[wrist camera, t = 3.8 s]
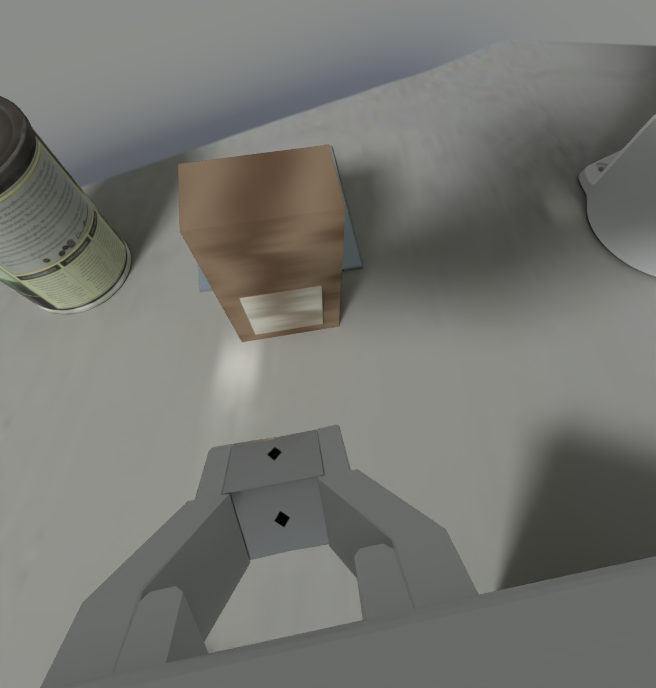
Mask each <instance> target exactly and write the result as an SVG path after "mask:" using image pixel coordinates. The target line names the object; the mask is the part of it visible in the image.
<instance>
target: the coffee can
mask: <svg viewBox="0 0 656 688" xmlns="http://www.w3.org/2000/svg"><path fill="white" fill-rule="evenodd" d="M130 267H131V254H130V250H129V247H128V245H127V244H126V242H125V241H124V240H123V238H121V237H120V236H119V235H118V234H117V232H116V231H115V230H114V229H113V227H112V226H111V225H110V224H109V222H108V221H107V220H106V219H105V217H104V216H103V215H102V214H101V212H100V211H99V210H98V209H97V207H96V206H95V205H94V204H93V202H92V201H91V200H90V199H89V197H88V196H87V195H86V194H85V192H84V191H83V190H82V189H81V187H80V186H79V185H78V184H77V182H76V181H75V180H74V179H73V178H72V176H71V175H70V174H69V173H68V171H67V170H66V169H65V168H64V166H63V165H62V164H61V163H60V161H59V160H58V159H57V158H56V156H55V155H54V154H53V153H52V151H51V150H50V149H49V148H48V146H47V145H46V144H45V143H44V141H43V140H42V139H41V138H40V137H39V136H38V134H37V133H36V132H35V130H34V129H33V128H32V127H31V124H30V122H29V120H28V119H27V117H26V116H25V115H24V114H23V112H22V111H21V110H20V109H19V108H18V107H17V106H16V105H15V104H14V103H13V102H11V101H9V100H8V99H5V98H3V97H1V96H0V281H1V282H3V283H5V284H6V285H8V286H9V287H11V288H12V289H14V290H15V291H17V292H18V293H20V294H21V295H23V296H25V297H26V298H28V299H29V300H31V301H32V302H34V303H35V304H36V305H37V306H38V307H40V308H42V309H44V310H46V311H49V312H53V313H59V314H72V313H78V312H82V311H86V310H89V309H91V308H94V307H96V306H98V305H100V304H101V303H103V302H105V301H106V300H108V299H109V298H110V297H111V296H112V295H113V294H114V293H116V292H117V291H118V290H119V288H120V287H121V286H122V284H123V283H124V281H125V280H126V278H127V275H128V273H129V270H130Z"/></svg>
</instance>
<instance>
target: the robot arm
mask: <svg viewBox="0 0 656 688" xmlns="http://www.w3.org/2000/svg"><path fill="white" fill-rule="evenodd" d="M579 181H580V183H581V186H582V187H583V189H584V191H585V193H586V196H587V214H588V219H589V222H590V225H591V227H592V229H593V231H594V232H595V234H596V236H597V237H598V238H599V240H600V241H601V242H602V243H603V244H604V246H605V247H606V248H607V249H608V250H609V251H611V252H612V253H613V254H614V255H615V256H617V257H618V258H619V259H621V260H622V261H623V262H625V263H627V264H628V265H630V266H632V267H634V268H635V269H638V270H640V271H642V272H644V273H647V274H649V275H652V276H655V277H656V114H655V115H654V116H653V117H652V118H651V119H650V120H649V121H648V122H647V123H646V124H645V125H644V126H643V127H642V128H641V129H640V130H639V132H638V133H637V134H636V135H635V136H634V137H633V138H632V139H631V140H630V142H629V143H628V144H627V145H626V146H625V147H624V148H623V149H622V150H620V151H618V152H616V153H613V154H611V155H609V156H607V157H605V158H603V159H601V160H599V161H597V162H595V163H592V164H590V165H588V166H587V167H586V168H585V169H584V170H583V171H582V172H581V173H580V174H579ZM318 438H319V439H318ZM319 444H320V445H319ZM320 450H321V451H320ZM321 456H322V457H321ZM326 544H329V546H330V547H331V548H332V550H333V551H334V552H335V553H336V554H337V556H338V557H339V558H340V559H341V560H342V561H343V563H344V564H345V565H346V566H347V567H348V569H349V570H350V571H351V572H352V573H353V574H354V576H355V577H356V578H357V582H358V589H359V596H360V603H361V611H362V618H363V620H361V621H357V622H352V623H348V624H343V625H339V626H334V627H329V628H325V629H320V630H316V631H311V632H306V633H302V634H297V635H293V636H288V637H283V638H279V639H274V640H270V641H265V642H261V643H256V644H251V645H247V646H242V647H238V648H233V649H228V650H224V651H219V652H215V653H210V654H209V653H208V651H207V648H206V646H205V644H204V641H205V640H206V638H207V636H208V634H209V633H210V631H211V629H212V628H213V626H214V624H215V622H216V621H217V619H218V617H219V615H220V614H221V612H222V610H223V609H224V607H225V605H226V603H227V602H228V600H229V598H230V597H231V595H232V593H233V591H234V590H235V588H236V586H237V584H238V583H239V581H240V579H241V578H242V576H243V574H244V572H245V571H246V569H247V567H248V565H249V564H250V561H249V560H252V559H257V558H261V557H265V556H270V555H274V554H278V553H282V552H287V551H292V550H297V549H303V548H309V547H315V546H321V545H326ZM40 688H656V556H654V557H650V558H645V559H640V560H636V561H631V562H627V563H622V564H617V565H613V566H608V567H604V568H599V569H594V570H590V571H585V572H581V573H576V574H571V575H567V576H562V577H558V578H553V579H549V580H544V581H539V582H535V583H530V584H526V585H521V586H516V587H512V588H507V589H503V590H498V591H493V592H489V593H484V594H480V595H479V594H478V592H477V590H476V588H475V586H474V584H473V582H472V580H471V578H470V576H469V574H468V572H467V570H466V568H465V566H464V564H463V562H462V560H461V558H460V556H459V554H458V552H457V550H456V548H455V547H454V545H453V543H452V541H451V539H450V537H449V535H448V533H447V531H446V529H445V528H443V527H442V526H440V525H439V524H437V523H436V522H434V521H433V520H431V519H430V518H428V517H427V516H425V515H424V514H422V513H421V512H420V511H418V510H417V509H415V508H414V507H412V506H411V505H409V504H408V503H406V502H405V501H403V500H402V499H400V498H399V497H397V496H396V495H395V494H393V493H392V492H390V491H389V490H387V489H386V488H384V487H383V486H381V485H380V484H378V483H377V482H375V481H374V480H372V479H371V478H369V477H368V476H367V475H365V474H364V473H362V472H361V471H359V470H358V469H356V470H351V469H350V465H349V461H348V457H347V454H346V450H345V446H344V442H343V439H342V435H341V431H340V427H339V426H338V425H333V426H328V427H324V428H319V429H318V433H317V430H312V431H307V432H302V433H296V434H291V435H286V436H281V437H273V438H266V439H260V440H254V441H248V442H241V443H235V444H229V445H224V446H218V447H213V448H211V449H210V450H209V452H208V455H207V459H206V462H205V466H204V469H203V473H202V476H201V480H200V483H199V487H198V490H197V494H196V497H195V500H193V501H188V502H187V503H186V504H185V505H184V506H183V507H181V508H180V509H179V510H178V511H177V512H176V513H175V514H174V515H173V516H172V517H171V518H170V519H169V520H168V521H167V522H166V523H165V524H164V525H163V526H162V527H161V528H160V529H159V530H158V531H157V532H156V533H154V534H153V535H152V536H151V537H150V538H149V539H148V540H147V541H146V542H145V543H144V544H143V545H142V546H141V547H140V548H139V549H138V550H137V551H136V552H135V553H134V554H133V555H132V556H131V557H130V558H128V559H127V560H126V561H125V562H124V563H123V564H122V565H121V566H120V567H119V568H118V569H117V570H116V571H115V572H114V573H113V574H112V575H111V576H110V577H109V578H108V579H107V580H106V581H105V582H104V583H102V584H101V585H100V586H99V587H98V588H97V589H96V590H95V591H94V592H93V593H92V594H91V595H90V596H89V597H88V598H87V599H86V600H85V601H84V602H83V603H82V605H81V607H80V609H79V611H78V613H77V615H76V617H75V619H74V621H73V623H72V625H71V627H70V629H69V631H68V633H67V635H66V637H65V639H64V641H63V643H62V645H61V647H60V649H59V651H58V653H57V655H56V657H55V659H54V661H53V663H52V665H51V667H50V669H49V671H48V673H47V675H46V677H45V679H44V681H43V683H42V685H41V687H40Z"/></svg>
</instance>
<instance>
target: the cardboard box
mask: <svg viewBox="0 0 656 688" xmlns="http://www.w3.org/2000/svg"><path fill="white" fill-rule="evenodd" d="M178 181H179V223H180V233H181V235H182V236H183V238H184V240H185V242H186V243H187V245H188V247H189V249H190V251H191V252H192V254H193V256H194V258H195V259H196V261H197V263H198V265H199V267H200V268H201V270H202V272H203V274H204V275H205V277H206V279H207V281H208V283H209V284H210V286H211V288H212V290H213V291H214V293H215V295H216V297H217V299H218V300H219V302H220V304H221V306H222V307H223V309H224V311H225V313H226V315H227V316H228V318H229V320H230V322H231V323H232V325H233V327H234V329H235V331H236V332H237V334H238V336H239V338H240V339H241V341H242V342H246V341H252V340H258V339H264V338H271V337H277V336H283V335H289V334H295V333H301V332H308V331H314V330H320V329H326V328H332V327H338V326H339V314H340V297H341V280H342V263H343V246H344V229H345V212H346V207H345V203H344V199H343V195H342V191H341V188H340V184H339V180H338V176H337V172H336V168H335V164H334V160H333V156H332V152H331V148H330V145H322V146H314V147H307V148H299V149H291V150H283V151H275V152H268V153H260V154H252V155H244V156H236V157H228V158H221V159H213V160H205V161H197V162H189V163H182V164H178Z"/></svg>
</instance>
